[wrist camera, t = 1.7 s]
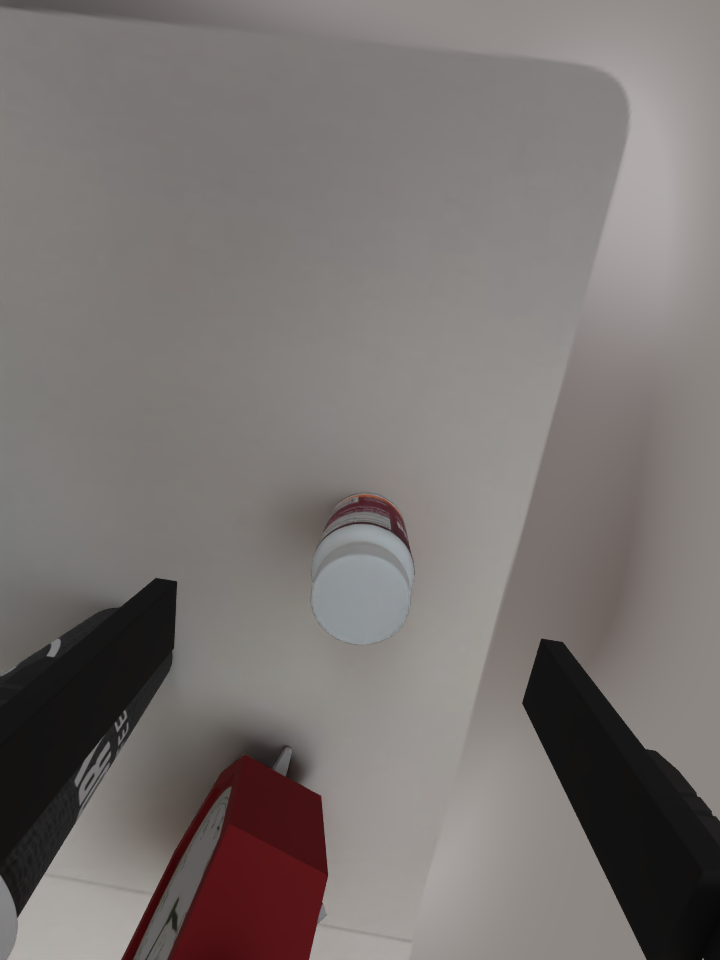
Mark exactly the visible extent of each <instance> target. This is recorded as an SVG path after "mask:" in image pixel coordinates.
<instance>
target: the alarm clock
mask: <svg viewBox="0 0 720 960" xmlns="http://www.w3.org/2000/svg"><path fill="white" fill-rule="evenodd" d="M291 754H292V750H291V748H290V747H285V748H284V750H283V752H282V753H281V755H280V756H279V758H278V760H277V761H276V763H275V765H274V766H273V768H272V769H271V768H269V767H267V766H265V765H263V764H262V763H260V762H258V761H256V760H254V759H252V758H251V757H249V756H247V755H245V754H244V755H243V756H242V757H241V758H239V759H238V760H237V761H236V762H234V763H233V764H232V765H231V766H229V767H228V768H227V769H226V770H224V771H223V772H222V773H221V774H220V776H219V778H218V779H217V781H216V783H215V784H214V786H213V788H212V789H211V791H210V793H209V794H208V796H207V798H206V799H205V801H204V803H203V804H202V806H201V808H200V809H199V811H198V813H197V814H196V816H195V818H194V819H193V821H192V823H191V824H190V826H189V828H188V829H187V831H186V833H185V835H184V836H183V838H182V840H181V841H180V843H179V845H178V846H177V848H176V850H175V851H174V854H173V856H172V858H171V860H170V862H169V864H168V866H167V868H166V870H165V872H164V874H163V876H162V878H161V880H160V882H159V884H158V886H157V888H156V890H155V892H154V894H153V896H152V898H151V900H150V902H149V904H148V907H147V909H146V911H145V913H144V915H143V917H142V919H141V921H140V923H139V925H138V927H137V929H136V931H135V933H134V935H133V937H132V939H131V941H130V943H129V945H128V947H127V949H126V951H125V953H124V955H123V957H122V959H121V960H309V957H310V952H311V948H312V944H313V939H314V935H315V931H316V926H317V924H318V923H319V922H320V921H321V920H322V919H323V918H324V917H325V916H327V915H326V912H325V909H324V905H323V903H322V900H323V896H324V891H325V887H326V882H327V878H328V869H327V857H326V846H325V835H324V823H323V812H322V801H321V796H320V795H318V794H317V793H315V792H313V791H311V790H309V789H307V788H306V787H304V786H302V785H300V784H298V783H296V782H295V781H293V780H291V779H289V778H287V777H286V774H287V770H288V766H289V762H290V758H291Z"/></svg>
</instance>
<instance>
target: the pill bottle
mask: <svg viewBox="0 0 720 960" xmlns="http://www.w3.org/2000/svg"><path fill="white" fill-rule="evenodd" d="M414 575H415V571H414V562H413V558H412V555H411V551H410V546H409V541H408V537H407V533H406V529H405V525H404V521H403V518H402V515H401V514H400V512H399V510H398V509H397V508H396V506H395V505H394V504H393V503H391V502H390V501H389V500H387V499H386V498H384V497H381V496H379V495H375V494H370V493H360V494H355V495H352V496H350V497H348V498H346V499H344V500H343V501H341V502H340V503H339V504H338V505H337V506H336V507H335V508H334V510H333V511H332V513H331V515H330V517H329V519H328V522H327V524H326V527H325V529H324V531H323V534H322V536H321V539H320V541H319V544H318V546H317V548H316V551H315V553H314V556H313V560H312V567H311V577H312V582H313V586H312V590H311V606H312V610H313V613H314V615H315V618H316V619H317V621H318V623H319V624H320V625H321V627H322V628H323V629H324V630H325V631H326V632H327V633H328V634H330V635H331V636H333V637H335V638H336V639H338V640H341V641H343V642H346V643H350V644H356V645H368V644H374V643H378V642H381V641H383V640H385V639H387V638H389V637H391V636H392V635H393V634H394V633H396V632H397V631H398V630H399V629H400V627H401V626H402V625H403V623H404V622H405V620H406V618H407V616H408V613H409V609H410V603H411V596H410V591H411V589H412V586H413V581H414Z"/></svg>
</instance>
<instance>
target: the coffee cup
mask: <svg viewBox="0 0 720 960" xmlns="http://www.w3.org/2000/svg"><path fill="white" fill-rule="evenodd" d="M118 609H119V608H112V609H106V610H103V611H101V612H98V613H97V614H95V615H93V616H92V617H90V618H89V619H87V620H85V621H84V622H82V623H81V624H79V625H78V626H76V627H75V628H73V629H71V630H70V631H68V632H67V633H65V634H64V635H62V636H61V637H59V638H58V639H56V640H54V641H53V642H51V643H50V644H48V645H47V646H45V647H44V648H42V649H41V650H39V651H37V652H36V653H34V654H33V655H31V656H30V657H28V658H27V659H25V660H23V661H22V662H20V663H19V664H17V665H16V666H14V667H13V668H11V669H10V670H8V671H6V672H5V673H3V674H2V675H0V685H1V683H3V682H4V681H5V680H7V679H8V678H9V677H11V676H12V675H13V674H15V673H16V672H17V671H18V670H20V669H21V668H23V667H25V666H27V665H29V664H31V663H33V662H35V661H37V660H39V659H41V658H43V657H45V656H50V657H56V658H60V657H61V656H62V655H64V654H65V653H66V652H67V651H68V650H70V649H71V648H72V647H73V646H74V645H76V644H77V643H78V642H79V641H81V640H82V639H83V638H84V637H85V636H87V635H88V634H89V633H90V632H91V631H93V630H94V629H95V628H96V627H97V626H99V625H100V624H101V623H102V622H103V621H105V620H106V619H107V618H108V617H109V616H111V615H112V614H113V613H114V612H116V611H117V610H118ZM171 664H172V651H171V653H170V654H169V655H168V656H167V658H166V659H165V660H164V661H163V663H162V664H161V665H160V666H159V668H158V669H157V670H156V671H155V673H154V674H153V675H152V676H151V678H150V679H149V680H148V681H147V683H146V684H145V685H144V686H143V688H142V689H141V690H140V691H139V693H138V694H137V695H136V697H135V698H134V699H133V700H132V702H131V703H130V704H129V705H128V707H127V708H126V709H125V710H124V712H123V713H122V714H121V715H120V717H119V718H118V719H117V720H116V722H115V723H114V724H113V725H112V727H111V728H110V729H109V730H108V732H107V733H106V734H105V735H104V737H103V738H102V739H101V740H100V742H99V743H98V744H97V745H96V747H95V748H94V749H93V750H92V752H91V753H90V754H89V755H88V757H87V758H86V759H85V760H84V762H83V763H82V764H81V766H80V767H79V768H78V769H77V771H76V772H75V773H74V774H73V776H72V777H71V778H70V779H69V781H68V782H67V783H66V784H65V786H64V787H63V788H62V789H61V791H60V792H59V793H58V794H57V796H56V797H55V798H54V799H53V801H52V802H51V803H50V804H49V806H48V807H47V808H46V809H45V811H44V812H43V813H42V814H41V816H40V817H39V818H38V819H37V821H36V822H35V823H34V824H33V826H32V827H31V828H30V829H29V831H28V832H27V833H26V835H25V836H24V837H23V838H22V840H21V841H20V842H19V843H18V845H17V846H16V847H15V848H14V850H13V851H12V852H11V853H10V855H9V856H8V857H7V858H6V860H5V861H4V862H3V863H2V865H1V866H0V960H6V959H7V958H8V956H9V955H10V953H11V951H12V949H13V947H14V944H15V941H16V937H17V928H18V922H17V918H18V916H19V915H20V913H21V911H22V910H23V908H24V906H25V905H26V903H27V901H28V900H29V898H30V897H31V895H32V893H33V892H34V890H35V888H36V887H37V885H38V883H39V882H40V880H41V878H42V877H43V875H44V873H45V872H46V870H47V869H48V867H49V865H50V864H51V862H52V860H53V859H54V857H55V855H56V854H57V852H58V851H59V849H60V847H61V846H62V844H63V842H64V841H65V839H66V838H67V836H68V834H69V833H70V831H71V829H72V828H73V826H74V824H75V823H76V821H77V820H78V818H79V816H80V815H81V813H82V811H83V810H84V808H85V807H86V805H87V803H88V802H89V800H90V798H91V797H92V795H93V794H94V792H95V790H96V789H97V787H98V785H99V784H100V782H101V781H102V779H103V777H104V776H105V774H106V773H107V771H108V769H109V768H110V766H111V764H112V763H113V761H114V760H115V758H116V756H117V755H118V753H119V751H120V750H121V748H122V747H123V745H124V743H125V742H126V740H127V739H128V737H129V735H130V734H131V732H132V730H133V729H134V727H135V726H136V724H137V722H138V721H139V719H140V717H141V716H142V714H143V713H144V711H145V709H146V708H147V706H148V705H149V703H150V701H151V700H152V698H153V697H154V695H155V693H156V692H157V690H158V688H159V687H160V685H161V684H162V682H163V680H164V679H165V677H166V675H167V674H168V672H169V670H170V667H171Z"/></svg>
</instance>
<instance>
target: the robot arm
mask: <svg viewBox="0 0 720 960" xmlns="http://www.w3.org/2000/svg"><path fill="white" fill-rule="evenodd" d="M176 594H177V581H171V580H165V579H159V578H155V579H154V580H153V581H152V582H151V583H149V584H148V585H147V586H146V587H144V588H143V589H142V590H141V591H140V592H138V593H137V594H136V595H135V596H134V597H132V598H131V599H130V600H129V601H128V602H126V603H125V604H124V605H123V606H122V607H120V608H119V609H118V610H117V611H116V612H114V613H113V614H112V615H111V616H109V617H108V618H107V619H106V620H105V621H103V622H102V623H101V624H100V625H99V626H97V627H96V628H95V629H94V630H93V631H91V632H90V633H89V634H88V635H87V636H85V637H84V638H83V639H82V640H81V641H79V642H78V643H77V644H76V645H74V646H73V647H72V648H71V649H70V650H68V651H67V652H66V653H65V654H64V655H62V656H61V657H60V658H56V657H50V656H45V657H43V658H41V659H39V660H37V661H35V662H33V663H31V664H29V665H27V666H25V667H23V668H21V669H20V670H18V671H17V672H16V673H15V674H13V675H12V676H11V677H9V678H8V679H7V680H5V681H4V682H3V683H1V685H0V866H1V865H2V863H3V862H4V861H5V860H6V858H7V857H8V856H9V855H10V853H11V852H12V851H13V850H14V848H15V847H16V846H17V845H18V843H19V842H20V841H21V840H22V838H23V837H24V836H25V835H26V833H27V832H28V831H29V829H30V828H31V827H32V826H33V824H34V823H35V822H36V821H37V819H38V818H39V817H40V816H41V814H42V813H43V812H44V811H45V809H46V808H47V807H48V806H49V804H50V803H51V802H52V801H53V799H54V798H55V797H56V796H57V794H58V793H59V792H60V791H61V789H62V788H63V787H64V786H65V784H66V783H67V782H68V781H69V779H70V778H71V777H72V776H73V774H74V773H75V772H76V771H77V769H78V768H79V767H80V766H81V764H82V763H83V762H84V760H85V759H86V758H87V757H88V755H89V754H90V753H91V752H92V750H93V749H94V748H95V747H96V745H97V744H98V743H99V742H100V740H101V739H102V738H103V737H104V735H105V734H106V733H107V732H108V730H109V729H110V728H111V727H112V725H113V724H114V723H115V722H116V720H117V719H118V718H119V717H120V715H121V714H122V713H123V712H124V710H125V709H126V708H127V707H128V705H129V704H130V703H131V702H132V700H133V699H134V698H135V697H136V695H137V694H138V693H139V691H140V690H141V689H142V688H143V686H144V685H145V684H146V683H147V681H148V680H149V679H150V678H151V676H152V675H153V674H154V673H155V671H156V670H157V669H158V668H159V666H160V665H161V664H162V663H163V661H164V660H165V659H166V658H167V656H168V655H169V654H170V653H171V651H172V650H173V649H174V637H175V615H176ZM522 704H523V706H524V708H525V710H526V712H527V714H528V716H529V718H530V720H531V722H532V724H533V726H534V728H535V731H536V733H537V735H538V737H539V739H540V741H541V743H542V745H543V747H544V749H545V751H546V753H547V755H548V757H549V759H550V761H551V763H552V765H553V767H554V770H555V772H556V774H557V776H558V778H559V780H560V782H561V784H562V786H563V788H564V790H565V792H566V794H567V796H568V799H569V801H570V803H571V804H572V807H573V809H574V811H575V813H576V815H577V817H578V819H579V821H580V823H581V825H582V827H583V829H584V831H585V834H586V835H587V838H588V839H589V842H590V844H591V846H592V848H593V850H594V852H595V854H596V856H597V858H598V860H599V862H600V865H601V867H602V869H603V871H604V873H605V875H606V877H607V879H608V881H609V883H610V885H611V887H612V889H613V891H614V893H615V895H616V898H617V900H618V901H619V904H620V906H621V908H622V910H623V912H624V914H625V916H626V918H627V920H628V922H629V924H630V926H631V928H632V930H633V932H634V935H635V937H636V939H637V941H638V943H639V945H640V946H641V949H642V951H643V953H644V955H645V957H646V959H647V960H702V958H704V960H720V821H719V820H718V819H717V817H716V816H713V815H712V811H711V810H710V809H709V808H708V806H707V805H706V804H705V803H704V801H703V800H702V799H701V798H700V797H697V794H696V792H695V790H694V789H693V788H692V787H691V785H690V784H689V783H688V782H687V781H686V779H685V778H684V777H683V776H682V774H681V773H680V772H679V771H678V770H677V769H676V768H675V767H674V766H672V765H671V764H670V763H669V762H668V761H667V760H666V759H664V758H663V757H662V756H661V755H660V754H659V753H658V752H656V751H653V750H647V749H645V748H644V747H643V746H642V744H641V743H640V742H639V740H638V739H637V738H636V737H635V735H634V734H633V733H632V731H631V730H630V729H629V727H628V726H627V725H626V724H625V722H624V721H623V720H622V718H621V717H620V716H619V714H618V713H617V712H616V711H615V709H614V708H613V707H612V706H611V704H610V703H609V702H608V700H607V699H606V698H605V696H604V695H603V694H602V693H601V691H600V690H599V689H598V687H597V686H596V685H595V683H594V682H593V681H592V680H591V678H590V677H589V676H588V674H587V673H586V672H585V670H584V669H583V668H582V667H581V665H580V664H579V663H578V661H577V660H576V659H575V658H574V656H573V655H572V654H571V652H570V651H569V650H568V648H567V647H566V646H565V644H564V643H563V642H559V641H553V640H547V639H541V642H540V645H539V648H538V651H537V655H536V658H535V662H534V665H533V669H532V672H531V675H530V678H529V682H528V685H527V689H526V692H525V695H524V699H523V702H522Z"/></svg>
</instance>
